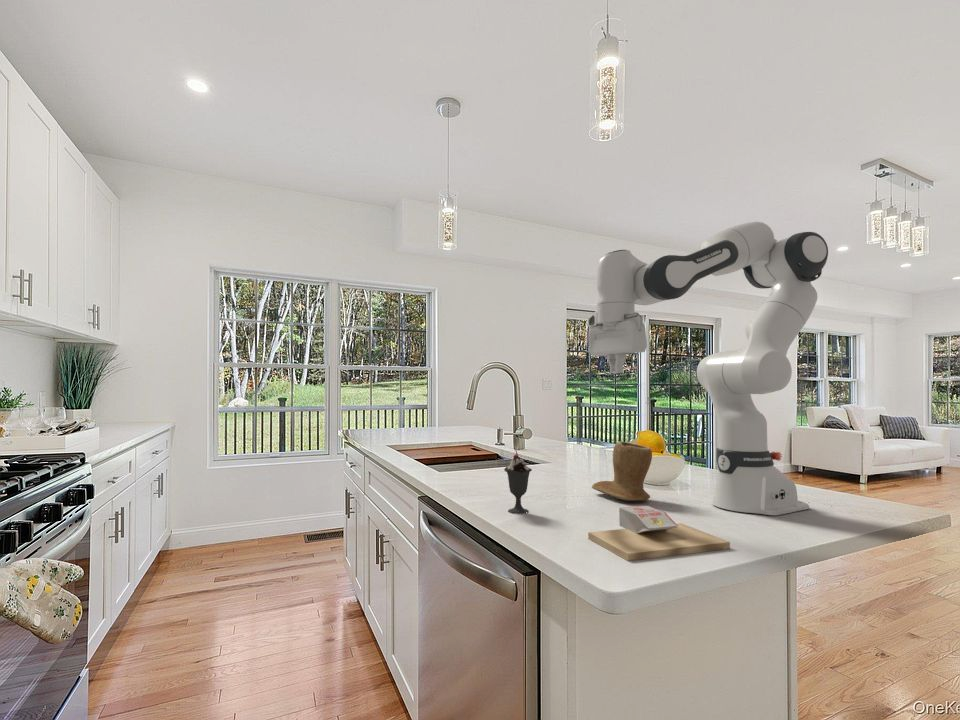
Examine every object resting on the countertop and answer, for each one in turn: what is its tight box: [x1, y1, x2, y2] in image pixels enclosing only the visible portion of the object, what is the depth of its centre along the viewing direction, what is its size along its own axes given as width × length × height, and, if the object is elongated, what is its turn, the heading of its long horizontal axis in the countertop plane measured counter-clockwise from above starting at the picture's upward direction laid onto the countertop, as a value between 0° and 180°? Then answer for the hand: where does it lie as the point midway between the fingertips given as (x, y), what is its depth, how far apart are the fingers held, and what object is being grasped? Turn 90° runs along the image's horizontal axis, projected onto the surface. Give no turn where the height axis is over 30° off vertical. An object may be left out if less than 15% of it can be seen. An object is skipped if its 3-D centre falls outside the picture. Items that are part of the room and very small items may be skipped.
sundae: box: [504, 447, 533, 514], centre depth 124 cm, size 7×7×15 cm
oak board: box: [587, 522, 731, 562], centre depth 99 cm, size 22×14×1 cm, turn 108°
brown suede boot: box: [591, 440, 653, 502], centre depth 139 cm, size 15×12×15 cm
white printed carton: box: [618, 505, 679, 534], centre depth 104 cm, size 4×7×10 cm
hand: (616, 373), depth 126 cm, fingers closed
